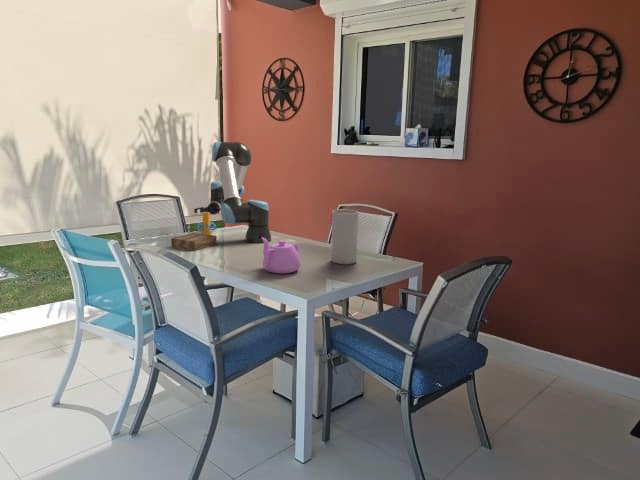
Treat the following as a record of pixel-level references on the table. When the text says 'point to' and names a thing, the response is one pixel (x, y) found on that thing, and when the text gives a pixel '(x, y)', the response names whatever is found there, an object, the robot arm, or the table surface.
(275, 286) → the table surface
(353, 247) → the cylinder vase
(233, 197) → the robot arm
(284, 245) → the teapot
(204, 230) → the orange blue tall piece
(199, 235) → the walnut block
